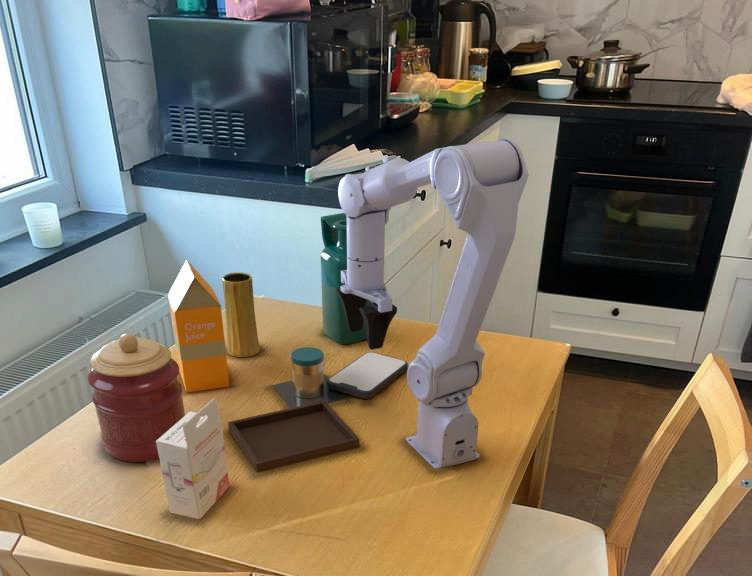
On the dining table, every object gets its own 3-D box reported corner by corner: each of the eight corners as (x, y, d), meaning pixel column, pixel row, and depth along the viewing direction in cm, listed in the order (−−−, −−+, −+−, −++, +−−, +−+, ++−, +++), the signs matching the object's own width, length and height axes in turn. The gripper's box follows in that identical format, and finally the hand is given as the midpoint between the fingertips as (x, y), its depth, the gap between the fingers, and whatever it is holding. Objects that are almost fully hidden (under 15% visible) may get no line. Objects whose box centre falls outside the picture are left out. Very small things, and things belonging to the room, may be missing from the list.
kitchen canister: (85, 445, 118) (59, 337, 108) (152, 412, 127) (133, 309, 117) (140, 474, 112) (118, 362, 102) (207, 437, 120) (192, 331, 110)
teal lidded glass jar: (329, 395, 131) (328, 357, 127) (300, 401, 129) (297, 363, 125) (317, 381, 135) (315, 344, 131) (288, 388, 133) (286, 350, 129)
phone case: (367, 358, 144) (323, 389, 132) (367, 350, 143) (323, 380, 131) (410, 369, 141) (369, 402, 129) (410, 361, 140) (369, 393, 128)
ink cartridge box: (200, 481, 111) (186, 389, 102) (230, 488, 109) (220, 395, 101) (167, 515, 104) (150, 419, 95) (199, 523, 103) (185, 427, 94)
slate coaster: (347, 401, 130) (347, 398, 130) (292, 413, 127) (292, 410, 126) (324, 376, 138) (324, 373, 137) (271, 388, 134) (271, 385, 134)
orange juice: (185, 392, 132) (168, 278, 121) (178, 371, 139) (162, 261, 128) (230, 386, 134) (218, 273, 123) (221, 365, 141) (209, 256, 130)
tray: (359, 449, 118) (359, 438, 117) (257, 475, 112) (256, 464, 111) (324, 410, 128) (324, 400, 127) (229, 432, 122) (227, 421, 121)
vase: (257, 358, 144) (251, 283, 136) (225, 357, 144) (216, 283, 136) (262, 344, 149) (256, 271, 140) (230, 343, 149) (222, 271, 141)
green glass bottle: (378, 337, 152) (379, 223, 139) (341, 347, 148) (339, 230, 135) (351, 320, 158) (351, 210, 146) (316, 329, 155) (311, 217, 142)
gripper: (322, 245, 122) (325, 326, 130) (362, 274, 111) (362, 361, 119) (363, 240, 124) (363, 319, 132) (405, 267, 114) (402, 352, 122)
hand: (365, 339), depth 126 cm, fingers open, 7 cm apart
